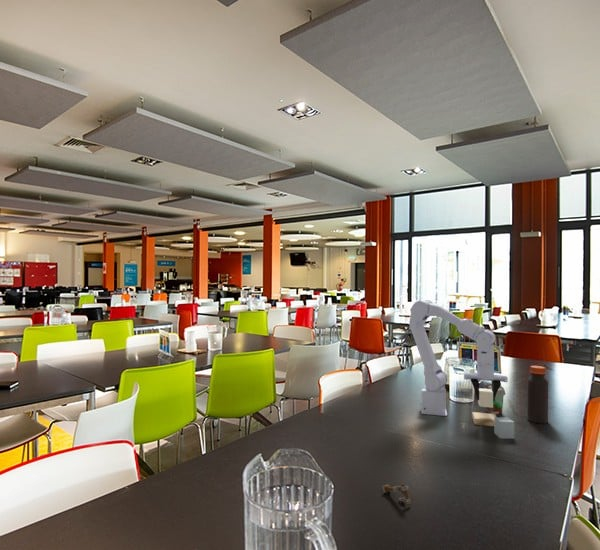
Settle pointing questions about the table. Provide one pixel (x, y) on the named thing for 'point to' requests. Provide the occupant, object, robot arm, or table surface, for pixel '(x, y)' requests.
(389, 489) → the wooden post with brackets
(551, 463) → the table surface
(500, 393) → the food container
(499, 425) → the slate block
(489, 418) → the oak slab
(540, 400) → the bottle
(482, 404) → the cream block
